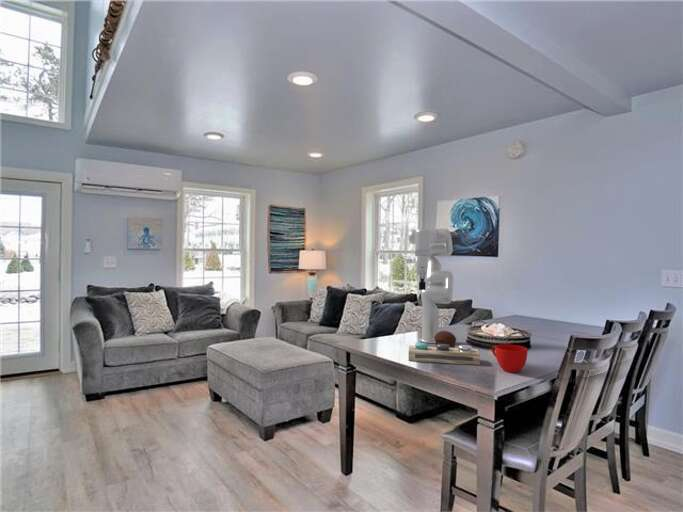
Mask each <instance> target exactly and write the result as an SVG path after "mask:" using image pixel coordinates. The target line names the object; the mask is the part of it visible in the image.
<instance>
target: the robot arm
mask: <svg viewBox="0 0 683 512" xmlns="http://www.w3.org/2000/svg"><path fill="white" fill-rule="evenodd" d="M408 241H409V243H410V244H412V245H414V254H415V255H414V257H416V277H418V276H419V281H418V290H419V291H420V296H421V297H420V298H421V304H422V305H421V308H422V309H421V310H422V311H421V317H422V319H421V323H422V324H421V337H420V338H419V342H420V343H427V344H435V339H434V337H435V335H436V334H437V333H438V332H440V309H439V308H438V306H437V305H436V304H445V305H446V304H447V305H448V304H450V303H452V300H453V290H454V289H453V288H454V276H453V272H451V271H449V270H442V263H441V262H440V261H439V260H438V259H437V258H436V257H449V256H451V255H452V253H453V249H454V247H453V240H452V234H451V232H450V230H449V229H448V228H425V229H424V228H421V229H419V228H418V229H411V230H410V231H409V233H408Z"/></svg>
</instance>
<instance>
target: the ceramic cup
mask: <svg viewBox="0 0 683 512" xmlns="http://www.w3.org/2000/svg"><path fill="white" fill-rule="evenodd" d="M491 353H492V355H493V356H494V358H496V360H497V364H498V365H499V367H500V368H501V369H502V371H504V372H506V371H508V372H507V373H512V372H516V373H519V372H520V371H521V370H522V369H523V368H524V367H525V365H526V363H527V360H528V348H527V347H525V346H522V345H517V344H509V343H508V344H503V343H502V344H497V345H493V346H492V347H491Z"/></svg>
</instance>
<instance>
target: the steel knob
mask: <svg viewBox="0 0 683 512" xmlns="http://www.w3.org/2000/svg"><path fill="white" fill-rule="evenodd" d="M457 348H458V349H459V352H470V351H471V349H473V347H472V345H468V344H459V345H458V347H457Z"/></svg>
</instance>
